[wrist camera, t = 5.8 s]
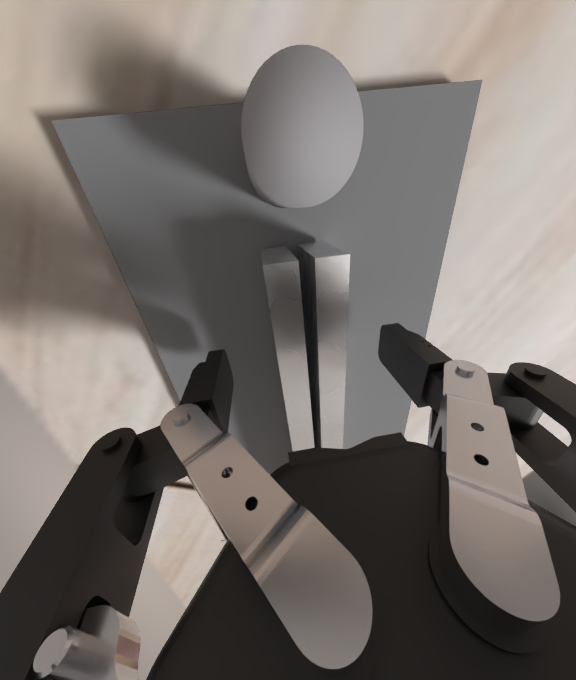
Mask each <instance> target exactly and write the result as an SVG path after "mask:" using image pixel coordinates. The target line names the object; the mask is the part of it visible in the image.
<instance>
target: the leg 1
mask: <svg viewBox="0 0 576 680" xmlns="http://www.w3.org/2000/svg"><path fill="white" fill-rule="evenodd" d="M260 251H261V259H262V266H263V273H264V279H265V285H266V291H267V297H268V303H269V309H270V315H271V322H272V328H273V334H274V340H275V346H276V352H277V358H278V365H279V371H280V377H281V383H282V389H283V395H284V401H285V408H286V414H287V420H288V426H289V432H290V438H291V444H292V450H293V451H299V450H304V449H310V448H315V447H314V435H313V424H312V412H311V400H310V389H309V377H308V366H307V354H306V342H305V331H304V319H303V307H302V296H301V284H300V273H299V261H298V259H297V258H296V257H295V256H294V255H293V253H292V252H291V251H290V250H289V249H288V248H287V246H280V247H272V248H265V249H260Z"/></svg>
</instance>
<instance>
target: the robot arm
mask: <svg viewBox="0 0 576 680" xmlns="http://www.w3.org/2000/svg"><path fill="white" fill-rule="evenodd" d="M378 356H379V359H380V361H381V363H382V364H383V365H384V366H385V368H386V369H387V370H388V371H389V373H390V374H391V375H392V376H393V377H394V379H395V380H396V381H397V382H398V384H399V385H400V386H401V387H402V388H403V390H404V391H405V392H406V393H407V394H408V396H409V397H410V398H411V399H412V401H413V402H414V403H415V404H416V405H417V407H418V408H419V407H425V406H430V407H431V408H432V409H431V413H430V423H429V435H428V446H427V445H424V444H420V443H416V442H410V441H406V439H405V438H404V436H403V435H402V433H401V432H399V433H393V434H388V435H382V436H377V437H373V438H371V439H369V440H366V441H364V442H362V443H360V444H358V445H356V446H354V447H352V448H349V449H335V448H318V447H316V448H310V449H304V450H299V451H293V452H288V457H289V462H288V463H286V464H284V465H282V466H280V467H279V468H277V469H276V470H275V471H274V472H272V473H271V474H270V475H269V474H268V473H267V472H266V471H265V470H264V469H263V467H262V466H261V465H260V464H259V463H258V462H257V461H256V460H255V459H254V458H253V457H252V456H251V455H250V454H249V453H248V452H247V451H246V450H245V449H244V447H243V446H242V445H241V444H240V443H239V442H238V441H237V440H236V439H235V438H234V437H233V436H232V435H231V434H230V433H229V432H228V427H229V419H230V411H231V403H232V394H233V386H234V382H233V374H232V371H231V367H230V364H229V360H228V357H227V353H226V351H225V349H220V350H214V351H209V352H208V355H207V358H206V361H205V362H201V363H199V364H198V365H197V366H196V367H195V368H194V369H193V370H192V373H191V375H190V379H189V381H188V383H187V384H188V385H187V386H186V388H185V391H184V394H183V396H182V399H181V401H180V404H179V406H178V407H176V408H174V409H172V410H171V411H169V412H168V413H167V414H166V415H165V416H164V418H163V419H162V421H161V425H160V426H158V427H155V428H153V429H150V430H148V431H145V432H143V433H141V434H138V435H136V433H135V431H134V430H133V429H131V428H120V429H117V430H114V431H112V432H110V433H108V434H106V435H104V436H103V437H102V438H100V439H99V440H98V441H97V442H96V443H95V444H94V445H93V446H92V447H91V449H90V450H89V452H88V453H87V455H86V456H85V458H84V460H83V461H82V463H81V464H80V466H79V468H78V469H77V471H76V472H75V474H74V476H73V477H72V479H71V481H70V482H69V484H68V485H67V487H66V488H65V490H64V492H63V493H62V495H61V496H60V498H59V500H58V501H57V503H56V504H55V507H54V508H53V509H52V511H51V513H50V514H49V516H48V517H47V519H46V521H45V522H44V524H43V525H42V527H41V529H40V530H39V532H38V533H37V535H36V537H35V538H34V540H33V541H32V543H31V545H30V546H29V548H28V549H27V551H26V553H25V554H24V556H23V557H22V559H21V561H20V562H19V564H18V565H17V567H16V569H15V570H14V572H13V573H12V575H11V577H10V578H9V580H8V581H7V583H6V585H5V586H4V588H3V589H2V591H1V593H0V680H139V674H138V658H139V651H140V631H139V628H138V626H137V624H136V623H135V621H133V620H132V619H131V618H129V614H130V611H131V607H132V603H133V600H134V596H135V592H136V588H137V585H138V581H139V577H140V574H141V570H142V566H143V563H144V559H145V555H146V552H147V548H148V544H149V540H150V537H151V533H152V529H153V526H154V522H155V518H156V515H157V511H158V507H159V504H160V500H161V496H162V492H163V489H164V487H165V486H167V485H169V484H171V483H173V482H175V481H177V480H179V479H182V478H184V477H186V476H188V478H189V479H190V481H191V483H192V484H193V486H194V488H195V489H196V491H197V493H198V494H199V496H200V498H201V499H202V501H203V502H204V504H205V506H206V507H207V509H208V511H209V512H210V514H211V516H212V518H213V519H214V521H215V523H216V524H217V526H218V528H219V529H220V531H221V533H222V534H223V536H224V538H225V539H226V541H227V542H226V544H225V545H224V547H223V549H222V550H221V552H220V554H219V555H218V557H217V559H216V560H215V562H214V564H213V565H212V567H211V569H210V570H209V572H208V574H207V575H206V577H205V579H204V580H203V582H202V584H201V585H200V587H199V589H198V590H197V592H196V594H195V595H194V597H193V599H192V600H191V602H190V604H189V605H188V607H187V609H186V610H185V612H184V614H183V615H182V617H181V619H180V620H179V622H178V623H177V625H176V627H175V629H174V630H173V632H172V634H171V635H170V637H169V639H168V640H167V642H166V643H165V645H164V647H163V648H162V650H161V652H160V654H159V655H158V657H157V659H156V661H155V663H154V665H153V666H152V668H151V670H150V673H149V675H148V677H147V679H146V680H576V526H574V525H572V524H570V523H569V522H567V521H565V520H563V519H561V518H560V517H558V516H556V515H554V514H552V513H551V512H549V511H547V510H545V509H543V508H542V507H540V506H538V505H536V504H535V503H533V502H531V501H529V500H527V498H526V494H525V490H524V486H523V481H522V477H521V473H520V469H519V465H518V461H517V457H516V453H517V454H518V455H519V456H520V457H521V458H522V459H523V460H524V461H525V462H526V463H527V464H528V465H529V466H530V467H531V468H532V469H533V470H534V471H535V472H536V473H537V474H538V475H539V476H540V477H541V478H542V479H543V480H544V481H545V482H546V483H547V484H548V485H549V486H550V487H551V488H552V489H553V490H554V491H555V492H556V493H557V494H558V495H559V496H560V497H561V498H562V499H563V500H564V501H565V502H566V503H567V504H568V505H569V506H570V507H571V508H572V509H573V510H574V511H575V512H576V384H574V383H572V382H571V381H569V380H567V379H565V378H564V377H562V376H560V375H559V374H557V373H555V372H553V371H552V370H550V369H547V368H545V367H542V366H539V365H536V364H531V363H514V364H512V365H510V367H509V369H508V371H507V373H506V374H504V373H487V372H486V371H485V370H484V369H483V368H482V367H480V366H479V365H476V364H474V363H472V362H468V361H463V360H452V359H451V358H449V357H448V356H447V355H445V354H444V353H443V352H441V351H440V350H439V349H438V348H436V347H435V346H433V345H432V344H431V343H430V342H428V341H427V340H426V339H424V338H423V337H422V336H420V335H419V334H416V333H414V332H412V331H408V330H407V329H405V328H404V327H403V326H402V325H400V324H399V323H393V324H387V325H382V326H381V329H380V338H379V347H378ZM543 412H545V413H546V414H547V415H549V416H550V417H551V418H553V419H554V420H555V421H557V422H558V423H559V424H561V425H562V426H563V427H564V428H566V429H567V431H568V432H569V433H570V435H571V439H572V442H571V444H570V446H569V447H568V446H566V445H565V444H564V443H563V442H561V441H560V440H559V439H558V438H556V437H555V436H554V435H553V434H551V433H550V432H549V431H548V430H547V429H545V428H544V427H543V426H542V425H540V424H539V423H538V420H539V418H540V417H541V415H542V414H543ZM515 452H516V453H515Z"/></svg>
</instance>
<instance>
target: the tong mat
mask: <svg viewBox="0 0 576 680" xmlns="http://www.w3.org/2000/svg"><path fill="white" fill-rule="evenodd" d="M481 84H482V80H475V81H464V82H454V83H443V84H433V85H422V86H411V87H401V88H390V89H380V90H369V91H359V92H358V91H357V88H356V86H355V84H354V81H353V79H352V78H351V76H350V74H349V73H348V71H347V70H346V68H345V67H344V66H343V65H342V63H341V62H340V61H339V60H337V59H336V58H335V57H334V56H333V55H331V54H330V53H328V52H327V51H325V50H323V49H320V48H318V47H315V46H310V45H296V46H290V47H287V48H285V49H282V50H280V51H279V52H277V53H275V54H274V55H272V56H271V57H270V58H269V59H268V60H267V61H265V63H264V64H263V65H262V66H261V67H260V68H259V70H258V71H257V73H256V74H255V76H254V78H253V79H252V81H251V84H250V86H249V88H248V91H247V94H246V97H245V100H244V102H242V103H232V104H221V105H211V106H200V107H190V108H179V109H168V110H158V111H147V112H137V113H126V114H116V115H105V116H94V117H84V118H73V119H63V120H52V124H53V126H54V128H55V130H56V132H57V134H58V137H59V139H60V141H61V143H62V145H63V147H64V150H65V152H66V154H67V156H68V158H69V161H70V163H71V165H72V167H73V169H74V171H75V174H76V176H77V178H78V180H79V182H80V184H81V187H82V189H83V191H84V193H85V195H86V198H87V200H88V202H89V204H90V206H91V208H92V211H93V213H94V215H95V217H96V219H97V221H98V224H99V226H100V228H101V230H102V232H103V235H104V237H105V239H106V241H107V243H108V245H109V248H110V250H111V252H112V254H113V256H114V258H115V261H116V263H117V265H118V267H119V269H120V272H121V274H122V276H123V278H124V280H125V282H126V285H127V287H128V289H129V291H130V293H131V295H132V298H133V300H134V302H135V304H136V306H137V308H138V311H139V313H140V315H141V317H142V319H143V322H144V324H145V326H146V328H147V330H148V332H149V335H150V337H151V339H152V341H153V343H154V345H155V348H156V350H157V352H158V354H159V356H160V359H161V361H162V363H163V365H164V367H165V369H166V372H167V374H168V376H169V378H170V380H171V382H172V385H173V387H174V389H175V391H176V393H177V396H178V398H179V400H180V401H181V399H182V396H183V394H184V391H185V388H186V386H187V385H188V384H187V383H188V381H189V379H190V375H191V373H192V370H193V369H194V368H195V367H196V366H197V365H198V364H199V363H201V362H205V361H206V358H207V355H208V352H209V351H214V350H220V349H225V351H226V353H227V357H228V360H229V364H230V367H231V371H232V374H233V382H234V386H233V394H232V403H231V411H230V419H229V427H228V432H229V433H230V434H231V435H232V436H233V437H234V438H235V439H236V440H237V441H238V442H239V443H240V444H241V445H242V446H243V447H244V449H245V450H246V451H247V452H248V453H249V454H250V455H251V456H252V457H253V458H254V459H255V460H256V461H257V462H258V463H259V464H260V465H261V466H262V467H263V469H264V470H265V471H266V472H267V473H268V474H269V475H270V474H271V473H272V472H274V471H275V470H276V469H277V468H279V467H280V466H282V465H284V464H286V463H288V462H289V457H288V452H293V450H292V444H291V438H290V432H289V426H288V420H287V414H286V408H285V401H284V395H283V389H282V383H281V377H280V371H279V365H278V358H277V352H276V346H275V340H274V334H273V328H272V322H271V315H270V309H269V303H268V297H267V291H266V285H265V279H264V273H263V266H262V259H261V251H260V249H265V248H272V247H280V246H287V248H288V249H289V250H290V251H291V252H292V253H293V255H294V256H295V257H296V258H297V259H298V261H299V255H298V244H303V243H311V242H320V241H324V242H326V243H328V244H330V245H332V246H334V247H337V248H339V249H341V250H343V251H345V252H347V253H349V254H350V273H349V299H348V326H347V352H346V378H345V405H344V431H343V449H349V448H352V447H354V446H356V445H358V444H360V443H362V442H364V441H366V440H369V439H371V438H373V437H377V436H382V435H388V434H393V433H399V432H401V433H402V435H403V436H404V432H405V428H406V423H407V418H408V414H409V409H410V405H411V400H412V399H411V398H410V397H409V396H408V394H407V393H406V392H405V391H404V390H403V388H402V387H401V386H400V385H399V384H398V382H397V381H396V380H395V379H394V377H393V376H392V375H391V374H390V373H389V371H388V370H387V369H386V368H385V366H384V365H383V364H382V363H381V361H380V359H379V356H378V347H379V338H380V329H381V326H382V325H387V324H393V323H399V324H400V325H402V326H403V327H404V328H405V329H407V330H408V331H412V332H414V333H416V334H419V335H420V336H422V337H423V338H424V339H425V337H426V333H427V328H428V323H429V319H430V314H431V310H432V305H433V301H434V296H435V292H436V287H437V283H438V278H439V274H440V269H441V265H442V260H443V256H444V251H445V247H446V242H447V237H448V233H449V228H450V224H451V219H452V215H453V210H454V206H455V201H456V197H457V192H458V188H459V183H460V179H461V174H462V170H463V165H464V161H465V156H466V152H467V147H468V142H469V138H470V133H471V129H472V124H473V120H474V115H475V111H476V106H477V102H478V97H479V93H480V88H481ZM299 273H300V270H299Z"/></svg>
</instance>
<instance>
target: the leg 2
mask: <svg viewBox="0 0 576 680" xmlns="http://www.w3.org/2000/svg"><path fill="white" fill-rule="evenodd" d="M298 255H299V270H300V284H301V296H302V307H303V319H304V331H305V342H306V354H307V366H308V377H309V389H310V400H311V412H312V424H313V435H314V447H315V448H316V447H318V448H335V449H343V431H344V405H345V378H346V352H347V326H348V299H349V273H350V254H349V253H347V252H345V251H343V250H341V249H339V248H337V247H334V246H332V245H330V244H328V243H326V242H324V241H320V242H311V243H303V244H298Z"/></svg>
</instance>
